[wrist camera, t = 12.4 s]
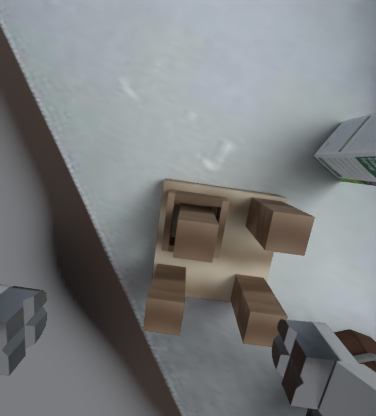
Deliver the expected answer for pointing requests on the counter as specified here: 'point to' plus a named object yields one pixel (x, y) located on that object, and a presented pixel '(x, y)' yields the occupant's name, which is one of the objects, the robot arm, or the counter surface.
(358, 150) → the syrup box
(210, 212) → the stool leg
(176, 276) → the stool seat
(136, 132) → the counter surface
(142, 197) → the counter surface
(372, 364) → the mug
